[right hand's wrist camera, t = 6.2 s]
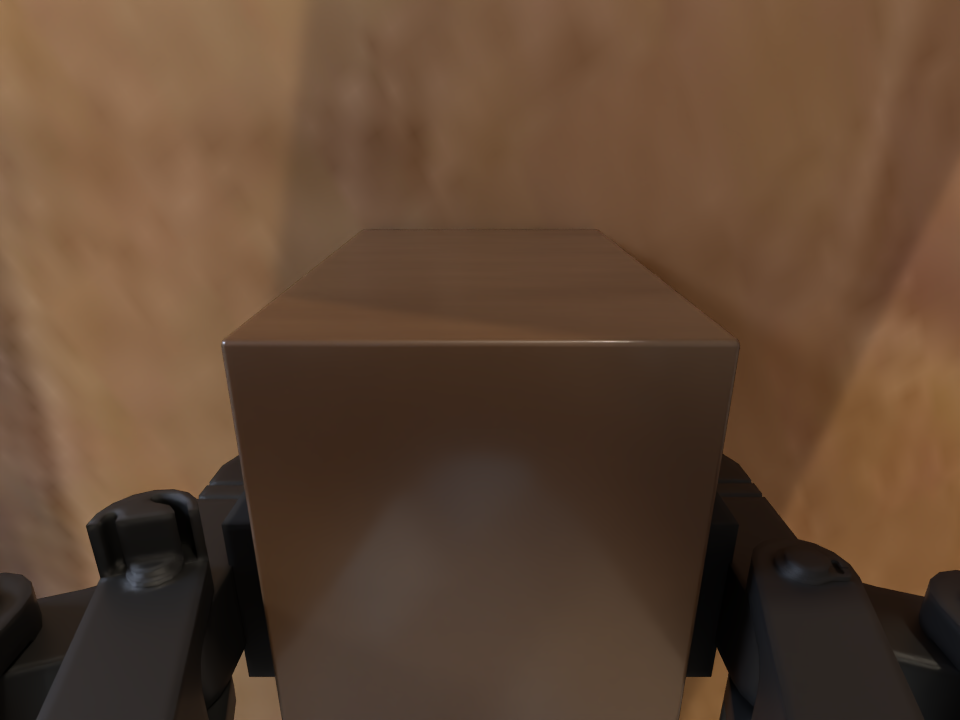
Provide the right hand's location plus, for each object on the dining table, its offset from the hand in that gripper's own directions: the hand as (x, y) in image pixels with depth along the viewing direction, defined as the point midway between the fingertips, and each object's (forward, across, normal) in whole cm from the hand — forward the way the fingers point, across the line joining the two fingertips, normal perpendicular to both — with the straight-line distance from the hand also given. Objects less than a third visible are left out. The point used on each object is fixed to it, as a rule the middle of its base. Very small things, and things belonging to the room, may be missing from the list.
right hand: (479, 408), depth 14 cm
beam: (+1, 0, -27) cm, 27 cm away
